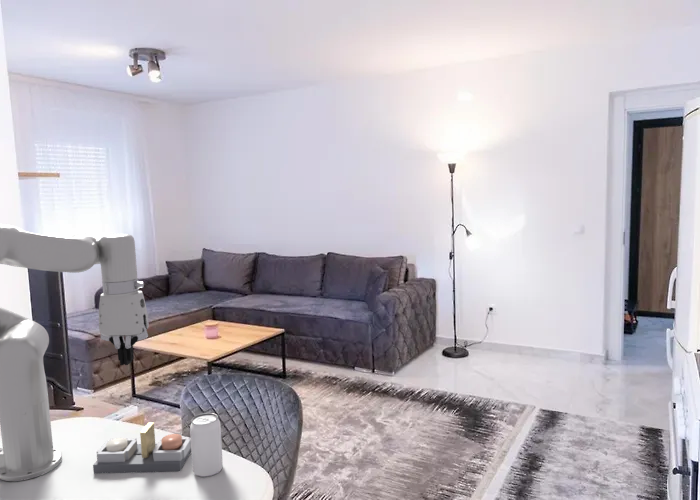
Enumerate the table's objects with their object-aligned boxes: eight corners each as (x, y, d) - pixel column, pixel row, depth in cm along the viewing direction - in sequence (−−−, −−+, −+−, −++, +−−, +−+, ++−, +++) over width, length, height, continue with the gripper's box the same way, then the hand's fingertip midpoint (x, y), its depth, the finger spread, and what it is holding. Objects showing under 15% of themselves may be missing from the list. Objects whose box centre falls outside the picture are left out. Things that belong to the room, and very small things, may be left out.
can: (214, 479, 113) (211, 426, 111) (187, 476, 114) (183, 424, 112) (227, 463, 119) (225, 413, 117) (201, 461, 120) (198, 411, 119)
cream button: (103, 455, 118) (102, 447, 117) (112, 446, 122) (111, 438, 122) (123, 455, 118) (122, 447, 117) (131, 445, 122) (130, 437, 122)
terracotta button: (159, 451, 118) (158, 443, 117) (165, 442, 122) (165, 434, 122) (178, 451, 118) (178, 443, 117) (184, 441, 122) (184, 433, 122)
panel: (93, 473, 116) (92, 456, 115) (111, 452, 125) (110, 436, 124) (182, 471, 116) (181, 454, 115) (194, 450, 125) (193, 434, 124)
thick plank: (142, 457, 118) (140, 432, 117) (150, 446, 122) (148, 422, 122) (147, 457, 118) (145, 432, 117) (155, 446, 122) (153, 422, 122)
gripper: (158, 283, 126) (163, 357, 128) (96, 284, 126) (102, 358, 128) (146, 289, 118) (152, 368, 121) (80, 291, 118) (87, 369, 121)
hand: (126, 363), depth 124 cm, fingers closed
